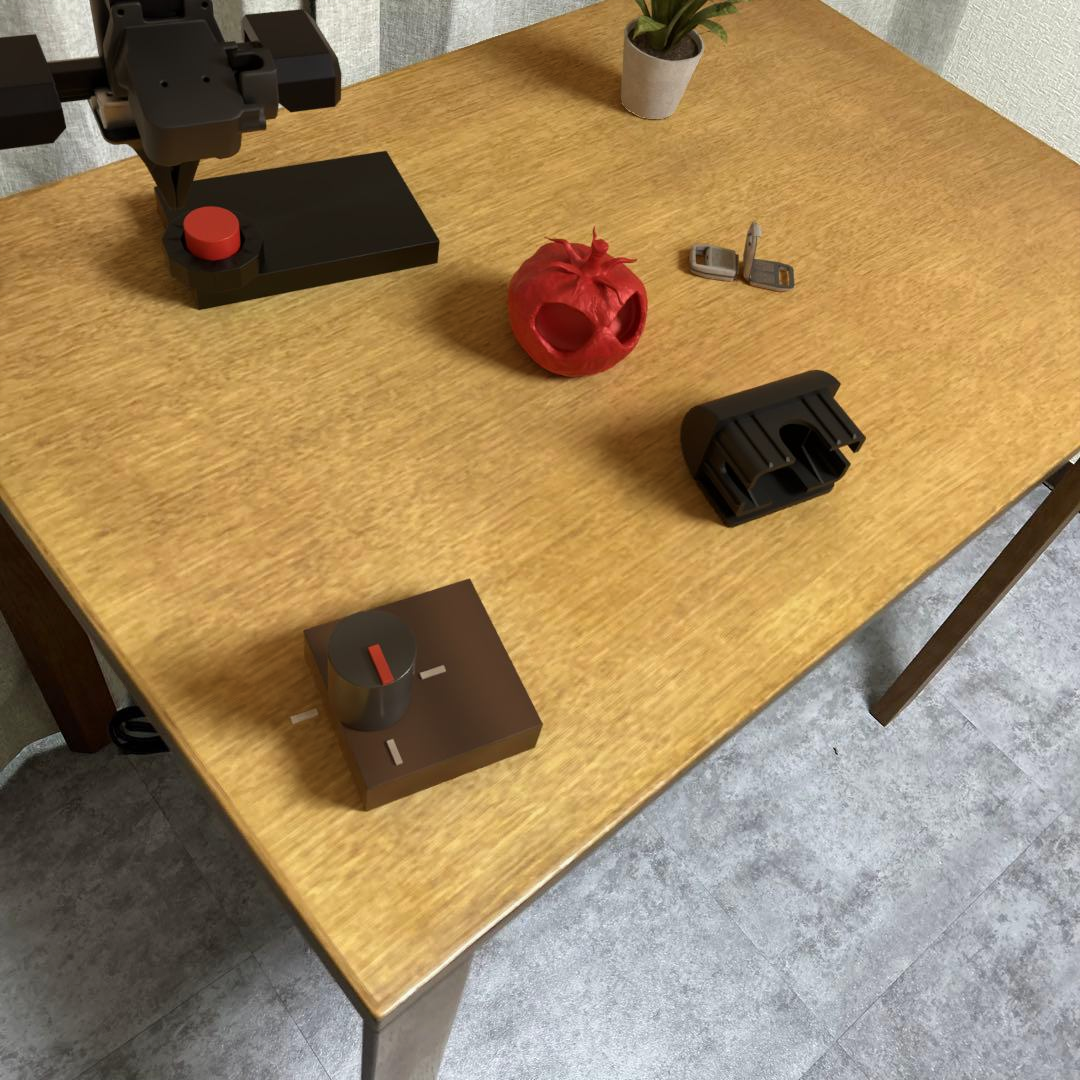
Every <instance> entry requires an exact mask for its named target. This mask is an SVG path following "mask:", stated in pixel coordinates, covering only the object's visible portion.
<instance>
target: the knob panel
mask: <svg viewBox="0 0 1080 1080" xmlns="http://www.w3.org/2000/svg"><path fill="white" fill-rule="evenodd" d="M368 610H375V611H383V612H387V613H390V614H392V615H394V616H396V617H398V618H400V619H401V620H402V621H403V622H405V623H406V624H407V625H408V627H409V628H410V629H411V631H412V633H413V634H414V637H415V639H416V644H417V655H416V663H415V671H414V679H413V688H412V696H411V702H410V705H409V707H408V709H407V711H406V713H405V714H404V716H403V717H402V718H401V719H400V720H399V721H397V722H396V723H395V724H393V725H391V726H390V727H387V728H385V729H382V730H377V731H361V730H357V729H354V728H351V727H349V726H347V725H345V724H344V723H342V722H341V721H340V720H339V719H338V718H337V717H336V716H335V714H334V713H333V711H332V709H331V707H330V704H329V701H328V650H327V647H328V641H329V638H330V635H331V633H332V632H333V630H334V628H335V627H336V626H337V625H338V624H339V623H340V622H341V621H342V620H344V619H345V618H347V617H348V616H349V615H348V616H344V617H341V618H338V619H334V620H331V621H328V622H325V623H321V624H319V625H315V626H311V627H309V628H306V629H303V650H304V651H303V653H304V659H305V661H306V664H307V666H308V669H309V671H310V674H311V677H312V679H313V682H314V684H315V687H316V689H317V691H318V695H319V697H320V699H321V702H322V704H323V707H324V709H325V713H326V714H327V717H328V719H329V722H330V725H331V728H332V730H333V732H334V735H335V737H336V740H337V742H338V746H339V747H340V750H341V752H342V755H343V757H344V760H345V762H346V765H347V768H348V770H349V772H350V776H351V777H352V780H353V783H354V785H355V788H356V790H357V793H358V795H359V798H360V801H361V803H362V806H363V808H364V810H365V812H370V811H372V810H375V809H378V808H380V807H383V806H386V805H388V804H390V803H393V802H396V801H398V800H401V799H403V798H406V797H409V796H411V795H414V794H417V793H420V792H422V791H424V790H427V789H430V788H433V787H435V786H438V785H440V784H444V783H446V782H448V781H451V780H454V779H457V778H459V777H461V776H462V777H463V776H464V775H467V774H469V773H472V772H474V771H477V770H479V769H483V768H485V767H488V766H490V765H491V766H492V765H493V764H496V763H498V762H501V761H503V760H507V759H509V758H511V757H514V756H516V755H519V754H523V753H525V752H527V751H530V750H532V749H535V748H536V746H537V743H538V741H539V737H540V735H541V732H542V729H543V726H544V723H543V721H542V719H541V717H540V715H539V713H538V711H537V708H536V707H535V705H534V703H533V701H532V699H531V697H530V695H529V693H528V691H527V689H526V687H525V685H524V683H523V681H522V679H521V677H520V676H519V673H518V671H517V669H516V668H515V667H516V666H515V665H514V663H513V661H512V659H511V657H510V655H509V653H508V651H507V649H506V647H505V645H504V643H503V641H502V639H501V637H500V635H499V634H498V631H497V629H496V627H495V625H494V623H493V621H492V619H491V618H490V615H489V613H488V611H487V609H486V607H485V604H484V603H483V601H482V599H481V597H480V595H479V593H478V592H477V590H476V587H475V585H474V583H473V581H472V579H471V578H470V577H469V578H466V579H462V580H460V581H456V582H453V583H449V584H446V585H444V586H440V587H437V588H434V589H430V590H427V591H424V592H421V593H418V594H415V595H411V596H409V597H405V598H401V599H399V600H395V601H392V602H389V603H386V604H383V605H379V606H377V607H373V608H369V609H367V610H365V611H368ZM317 716H319V712H318V709H317V708H312V709H310V710H307V711H303V712H301V713H298V714H295V715H292V716H290V717H289V718H290V721H291V724H293V725H294V724H297V723H299V722H303V721H306V720H308V719H312V718H314V717H317Z"/></svg>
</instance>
